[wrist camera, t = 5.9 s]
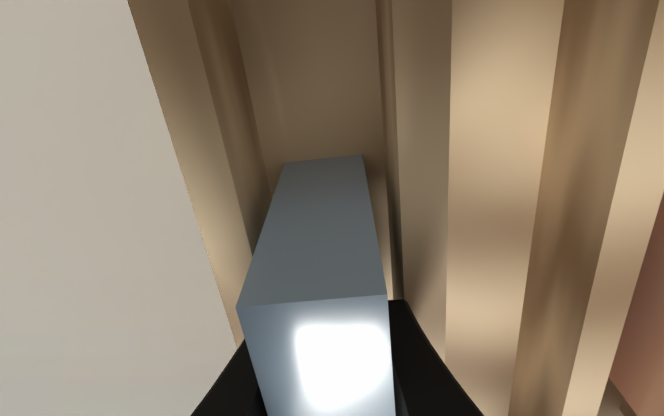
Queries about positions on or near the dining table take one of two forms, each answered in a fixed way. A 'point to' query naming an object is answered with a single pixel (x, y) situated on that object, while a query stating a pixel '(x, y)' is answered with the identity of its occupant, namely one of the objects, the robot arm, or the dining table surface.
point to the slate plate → (319, 297)
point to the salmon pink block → (644, 333)
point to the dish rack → (441, 163)
